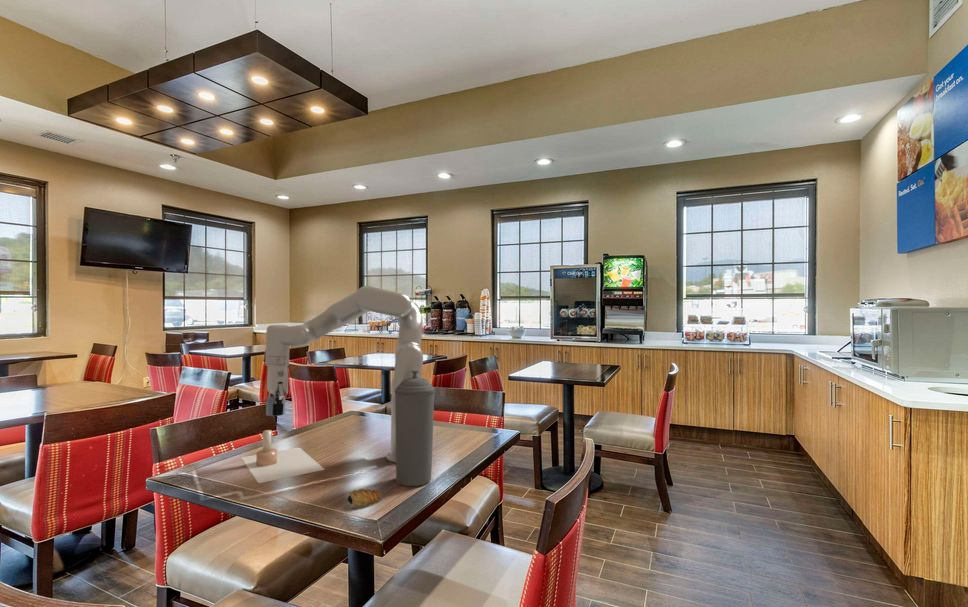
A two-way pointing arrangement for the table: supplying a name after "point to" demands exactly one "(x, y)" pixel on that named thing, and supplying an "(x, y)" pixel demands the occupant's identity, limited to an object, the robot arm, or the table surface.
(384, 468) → the table surface
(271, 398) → the cap
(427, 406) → the canister
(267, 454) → the round stamp handle
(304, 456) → the board
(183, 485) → the table surface
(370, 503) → the pastry
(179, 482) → the table surface
